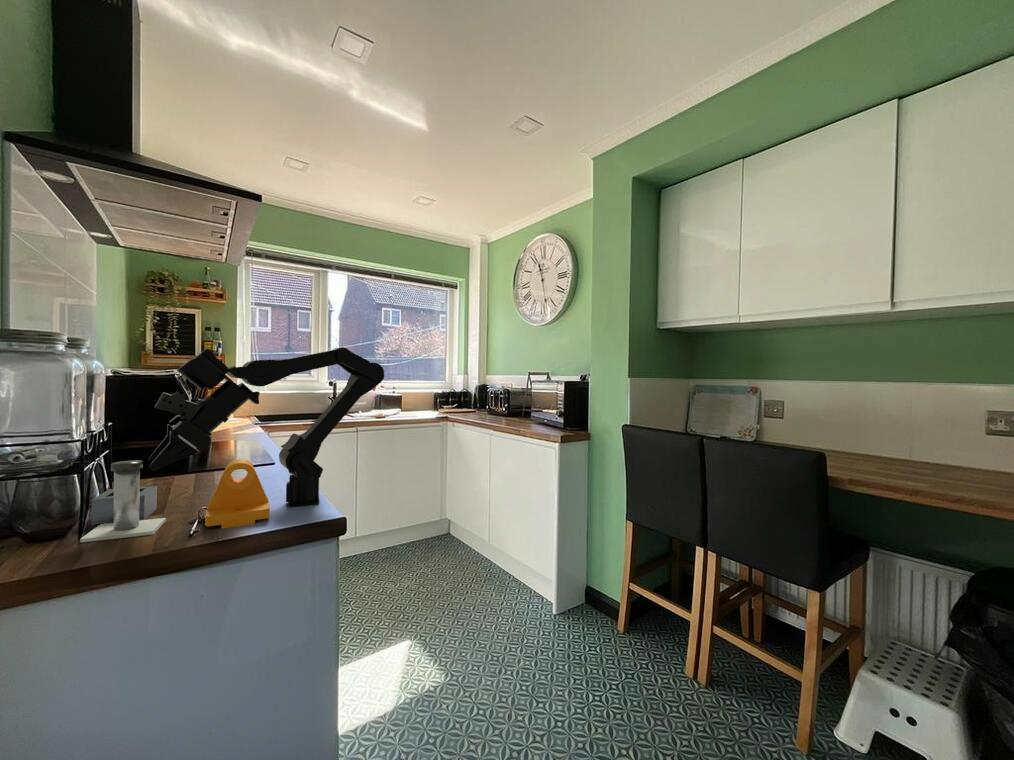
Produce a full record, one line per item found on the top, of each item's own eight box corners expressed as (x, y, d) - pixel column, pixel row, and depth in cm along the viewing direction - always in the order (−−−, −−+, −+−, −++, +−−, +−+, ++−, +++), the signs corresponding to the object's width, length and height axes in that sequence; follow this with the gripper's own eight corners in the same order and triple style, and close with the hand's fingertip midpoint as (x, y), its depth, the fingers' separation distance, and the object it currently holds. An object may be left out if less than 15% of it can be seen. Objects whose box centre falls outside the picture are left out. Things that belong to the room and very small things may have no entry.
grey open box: (156, 508, 92) (157, 485, 92) (144, 520, 85) (144, 495, 85) (108, 513, 88) (109, 489, 88) (91, 525, 81) (91, 499, 81)
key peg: (141, 521, 82) (141, 459, 82) (142, 527, 79) (143, 462, 79) (110, 527, 79) (110, 462, 79) (110, 533, 76) (111, 465, 76)
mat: (165, 520, 85) (166, 517, 85) (153, 534, 77) (153, 531, 77) (100, 527, 80) (100, 524, 80) (80, 542, 73) (80, 539, 73)
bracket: (204, 531, 80) (205, 468, 80) (207, 519, 86) (208, 461, 86) (269, 521, 85) (270, 463, 85) (267, 511, 92) (268, 457, 92)
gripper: (182, 377, 91) (112, 432, 84) (189, 378, 77) (106, 444, 70) (225, 412, 96) (163, 466, 89) (239, 419, 82) (166, 484, 75)
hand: (150, 464), depth 81 cm, fingers open, 9 cm apart
